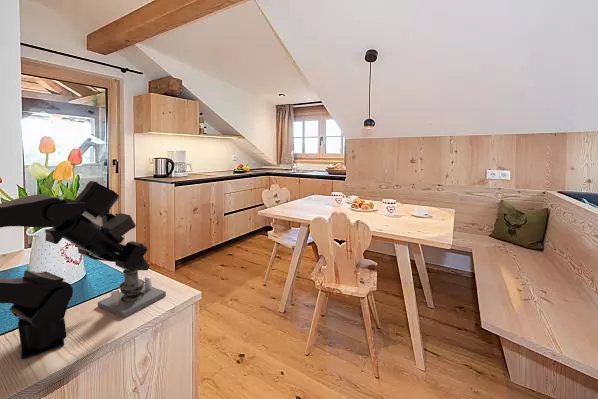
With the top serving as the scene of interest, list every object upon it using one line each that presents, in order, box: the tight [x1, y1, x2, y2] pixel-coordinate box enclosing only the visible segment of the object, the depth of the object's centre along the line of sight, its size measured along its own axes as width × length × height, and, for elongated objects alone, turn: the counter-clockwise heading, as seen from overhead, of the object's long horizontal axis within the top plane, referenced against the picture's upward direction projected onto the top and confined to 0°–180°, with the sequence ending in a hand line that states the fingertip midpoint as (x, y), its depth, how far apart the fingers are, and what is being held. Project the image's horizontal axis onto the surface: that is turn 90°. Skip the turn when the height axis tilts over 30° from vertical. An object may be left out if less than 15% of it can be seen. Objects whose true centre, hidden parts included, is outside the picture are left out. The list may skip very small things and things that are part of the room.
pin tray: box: [97, 275, 167, 318], centre depth 78 cm, size 12×10×5 cm
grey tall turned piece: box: [118, 269, 145, 302], centre depth 77 cm, size 6×6×12 cm
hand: (136, 264), depth 78 cm, fingers open, 9 cm apart
